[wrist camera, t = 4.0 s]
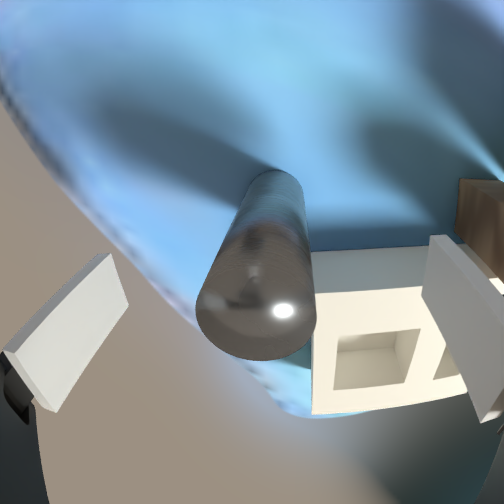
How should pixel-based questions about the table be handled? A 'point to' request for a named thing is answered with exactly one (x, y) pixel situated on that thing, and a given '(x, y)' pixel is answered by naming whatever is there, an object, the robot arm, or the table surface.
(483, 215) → the walnut square bar
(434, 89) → the table surface
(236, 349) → the round peg
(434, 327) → the socket block
